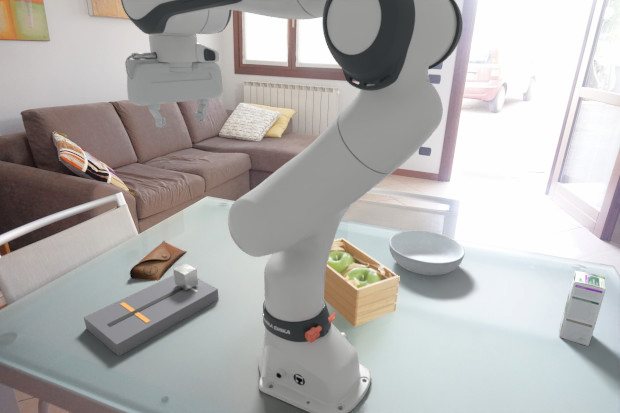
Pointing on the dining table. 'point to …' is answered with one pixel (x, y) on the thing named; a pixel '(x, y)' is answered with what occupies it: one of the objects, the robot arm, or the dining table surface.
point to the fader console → (147, 313)
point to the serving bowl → (426, 252)
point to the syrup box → (582, 307)
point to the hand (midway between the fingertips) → (181, 123)
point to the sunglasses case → (156, 262)
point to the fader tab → (185, 276)
